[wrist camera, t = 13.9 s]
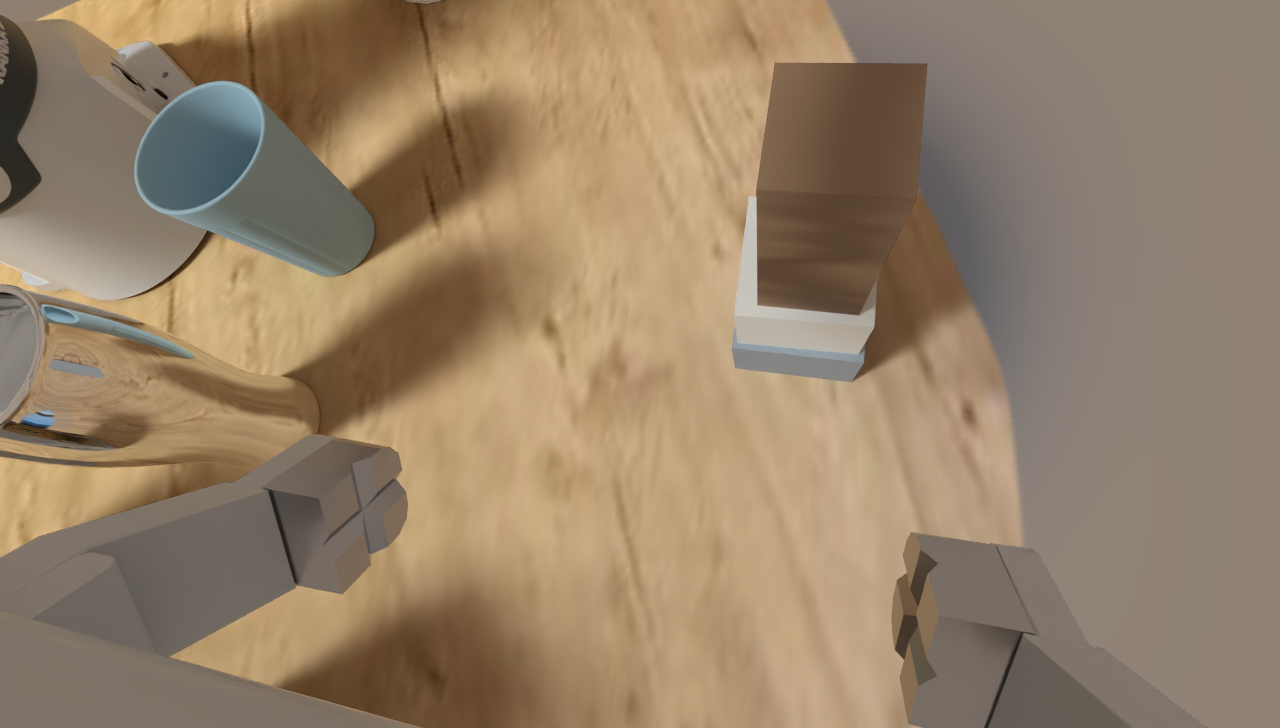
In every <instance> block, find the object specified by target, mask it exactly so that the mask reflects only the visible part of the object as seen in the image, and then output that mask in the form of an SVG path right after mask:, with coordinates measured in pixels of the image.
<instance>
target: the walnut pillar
mask: <svg viewBox="0 0 1280 728" xmlns="http://www.w3.org/2000/svg"><path fill="white" fill-rule="evenodd" d="M926 74H927V64H892V63H885V64H883V63H775V66H774V73H773V80H772V86H771V93H770V100H769V107H768V114H767V120H766V127H765V134H764V141H763V148H762V154H761V161H760V168H759V175H758V182H757V188H756V205H757V305H759V306H769V307H779V308H789V309H799V310H809V311H819V312H829V313H839V314H849V315H860V312H861V310H862V308H863V306H864V304H865V302H866V300H867V298H868V296H869V294H870V292H871V290H872V288H873V286H874V284H875V282H876V280H877V278H878V276H879V274H880V272H881V270H882V268H883V266H884V264H885V262H886V260H887V257H888V255H889V253H890V251H891V249H892V247H893V245H894V243H895V241H896V239H897V237H898V235H899V233H900V231H901V229H902V227H903V225H904V223H905V221H906V219H907V217H908V215H909V213H910V211H911V209H912V207H913V204H914V202H915V200H916V198H917V187H918V174H919V162H920V149H921V137H922V123H923V112H924V99H925V87H926Z"/></svg>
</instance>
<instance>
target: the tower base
mask: <svg viewBox="0 0 1280 728" xmlns="http://www.w3.org/2000/svg"><path fill="white" fill-rule="evenodd" d="M865 344H866V342H865ZM865 344H864V346H863V347H862V349H861V351H860V353H859V354H858V355H857V354H847V353H836V352H826V351H815V350H805V349H794V348H784V347H773V346H763V345H752V344H742V343H738V342H737V335H736V327H735V330H734V337H733V344H732V351H733V357H734V363H735V368H738V369H746V370H755V371H763V372H771V373H779V374H788V375H796V376H804V377H812V378H821V379H829V380H837V381H846V382H852V381H853V379H854V377H855V376H856V374H857V373H858V371H859V370H860V368H861V367H862V365H863V363H864V355H865Z"/></svg>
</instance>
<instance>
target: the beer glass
mask: <svg viewBox="0 0 1280 728" xmlns="http://www.w3.org/2000/svg"><path fill="white" fill-rule="evenodd" d="M319 423H320V410H319V405H318V401H317V399H316V397H315V395H314V393H313V392H312V390H311V389H310V388H309V387H308V386H307V385H306V384H304V383H303V382H301V381H299V380H297V379H294V378H290V377H283V376H271V375H260V374H254V373H250V372H247V371H244V370H241V369H239V368H236V367H234V366H232V365H230V364H228V363H226V362H224V361H222V360H220V359H219V358H217V357H215V356H213V355H211V354H209V353H207V352H206V351H204V350H202V349H200V348H198V347H196V346H194V345H192V344H190V343H188V342H187V341H185V340H183V339H181V338H178V337H176V336H174V335H172V334H170V333H168V332H165V331H163V330H161V329H159V328H157V327H154V326H151V325H149V324H146V323H143V322H140V321H137V320H135V319H132V318H129V317H126V316H123V315H120V314H116V313H113V312H110V311H106V310H103V309H99V308H96V307H93V306H89V305H85V304H81V303H77V302H73V301H69V300H65V299H61V298H57V297H52V296H48V295H44V294H40V293H36V292H32V291H28V290H24V289H22V288H19V287H16V286H12V285H5V284H0V458H2V459H9V460H16V461H23V462H30V463H39V464H48V465H57V466H70V467H89V468H120V467H142V466H156V465H169V464H181V463H196V462H213V463H222V464H228V465H232V466H235V467H238V468H241V469H244V470H247V471H250V472H251V471H253V470H254V469H256V468H257V467H259V466H261V465H262V464H264V463H265V462H267V461H268V460H270V459H271V458H273V457H274V456H276V455H278V454H279V453H281V452H282V451H284V450H285V449H287V448H288V447H290V446H292V445H293V444H295V443H296V442H298V441H299V440H301V439H302V438H304V437H306V436H307V435H317V432H318V428H319Z"/></svg>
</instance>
